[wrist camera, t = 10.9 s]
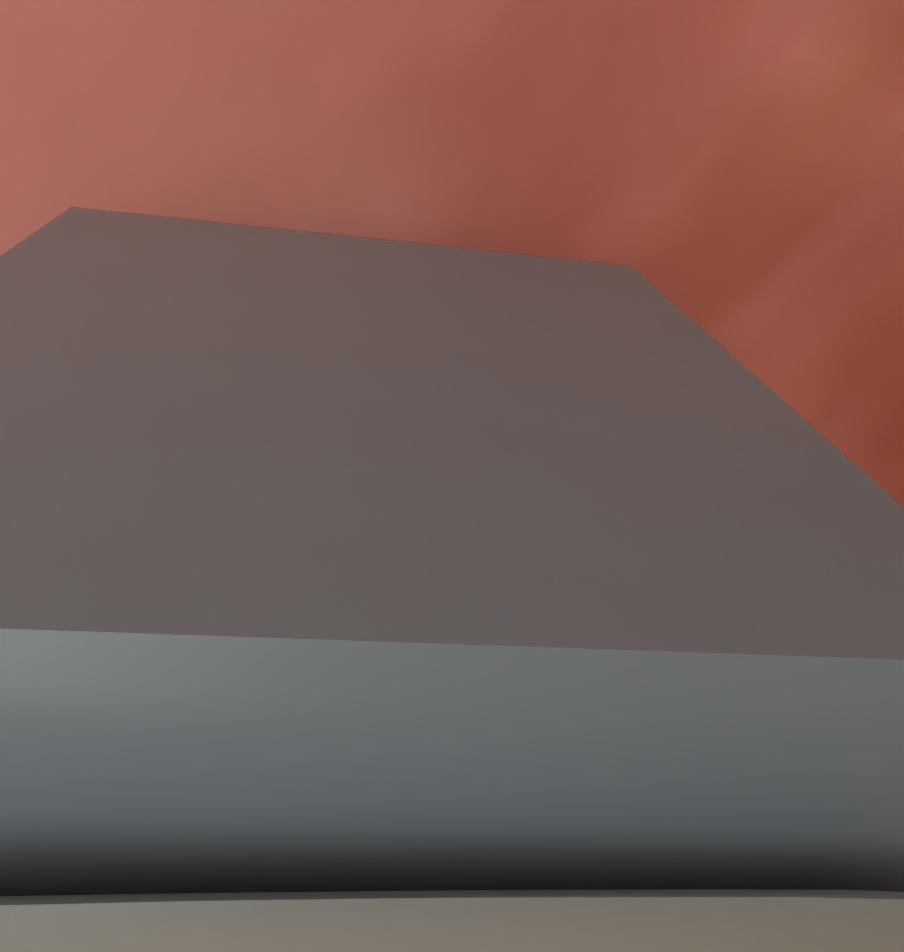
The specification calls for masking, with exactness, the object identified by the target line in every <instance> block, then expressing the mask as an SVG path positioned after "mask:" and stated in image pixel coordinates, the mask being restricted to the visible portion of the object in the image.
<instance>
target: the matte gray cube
mask: <svg viewBox="0 0 904 952" xmlns="http://www.w3.org/2000/svg"><path fill="white" fill-rule="evenodd" d="M614 889H778V890H868V891H895V892H904V507H903V506H902V505H901V504H899V503H898V502H897V501H896V500H895V499H894V498H893V497H892V496H890V495H889V494H888V493H887V492H886V491H885V490H884V489H883V488H881V487H880V486H879V485H878V484H877V483H876V482H875V481H873V480H872V479H871V478H870V477H869V476H868V475H867V474H866V473H864V472H863V471H862V470H861V469H860V468H859V467H858V466H857V465H855V464H854V463H853V462H852V461H851V460H850V459H849V458H848V457H846V456H845V455H844V454H843V453H842V452H841V451H840V450H838V449H837V448H836V447H835V446H834V445H833V444H832V443H831V442H829V441H828V440H827V439H826V438H825V437H824V436H823V435H822V434H820V433H819V432H818V431H817V430H816V429H815V428H814V427H813V426H811V425H810V424H809V423H808V422H807V421H806V420H805V419H803V418H802V417H801V416H800V415H799V414H798V413H797V412H796V411H794V410H793V409H792V408H791V407H790V406H789V405H788V404H787V403H785V402H784V401H783V400H782V399H781V398H780V397H779V396H778V395H776V394H775V393H774V392H773V391H772V390H771V389H770V388H768V387H767V386H766V385H765V384H764V383H763V382H762V381H761V380H759V379H758V378H757V377H756V376H755V375H754V374H753V373H752V372H750V371H749V370H748V369H747V368H746V367H745V366H744V365H743V364H741V363H740V362H739V361H738V360H737V359H736V358H735V357H733V356H732V355H731V354H730V353H729V352H728V351H727V350H726V349H724V348H723V347H722V346H721V345H720V344H719V343H718V342H717V341H715V340H714V339H713V338H712V337H711V336H710V335H709V334H708V333H706V332H705V331H704V330H703V329H702V328H701V327H700V326H698V325H697V324H696V323H695V322H694V321H693V320H692V319H691V318H689V317H688V316H687V315H686V314H685V313H684V312H683V311H682V310H680V309H679V308H678V307H677V306H676V305H675V304H674V303H673V302H671V301H670V300H669V299H668V298H667V297H666V296H665V295H663V294H662V293H661V292H660V291H659V290H658V289H657V288H656V287H654V286H653V285H652V284H651V283H650V282H649V281H648V280H647V279H645V278H644V277H643V276H642V275H641V274H640V273H639V272H637V271H636V270H635V269H634V268H633V267H632V266H630V265H620V264H611V263H601V262H592V261H582V260H573V259H563V258H554V257H544V256H535V255H525V254H516V253H506V252H496V251H487V250H477V249H468V248H458V247H449V246H439V245H430V244H420V243H411V242H401V241H392V240H382V239H373V238H363V237H353V236H344V235H334V234H325V233H315V232H306V231H296V230H287V229H277V228H268V227H258V226H249V225H239V224H230V223H220V222H210V221H201V220H191V219H182V218H172V217H163V216H153V215H144V214H134V213H125V212H115V211H106V210H96V209H87V208H77V207H71V208H69V209H68V210H66V211H65V212H64V213H62V214H61V215H59V216H58V217H56V218H55V219H53V220H52V221H51V222H49V223H48V224H46V225H45V226H43V227H42V228H40V229H39V230H38V231H36V232H35V233H33V234H32V235H30V236H29V237H27V238H26V239H25V240H23V241H22V242H20V243H19V244H17V245H16V246H14V247H13V248H12V249H10V250H9V251H7V252H6V253H4V254H3V255H1V256H0V896H39V895H104V894H170V893H243V892H337V891H445V890H614Z"/></svg>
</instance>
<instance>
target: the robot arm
mask: <svg viewBox="0 0 904 952" xmlns="http://www.w3.org/2000/svg"><path fill="white" fill-rule="evenodd" d="M0 952H904V892H895V891H868V890H778V889H614V890H445V891H337V892H243V893H170V894H104V895H39V896H0Z"/></svg>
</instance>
